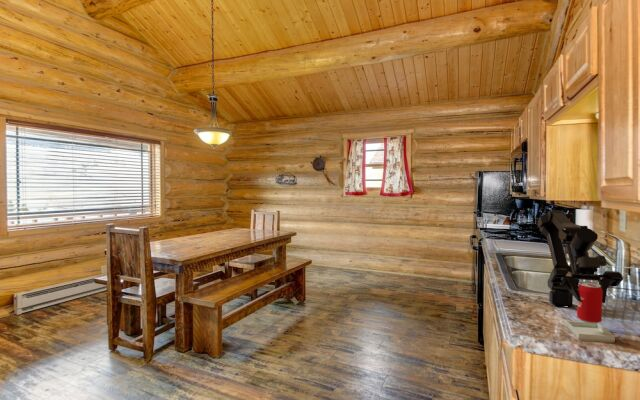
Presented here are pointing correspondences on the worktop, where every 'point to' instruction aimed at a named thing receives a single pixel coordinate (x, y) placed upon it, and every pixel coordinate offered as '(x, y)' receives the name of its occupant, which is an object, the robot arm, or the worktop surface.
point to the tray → (589, 331)
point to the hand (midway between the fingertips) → (591, 301)
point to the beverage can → (590, 302)
